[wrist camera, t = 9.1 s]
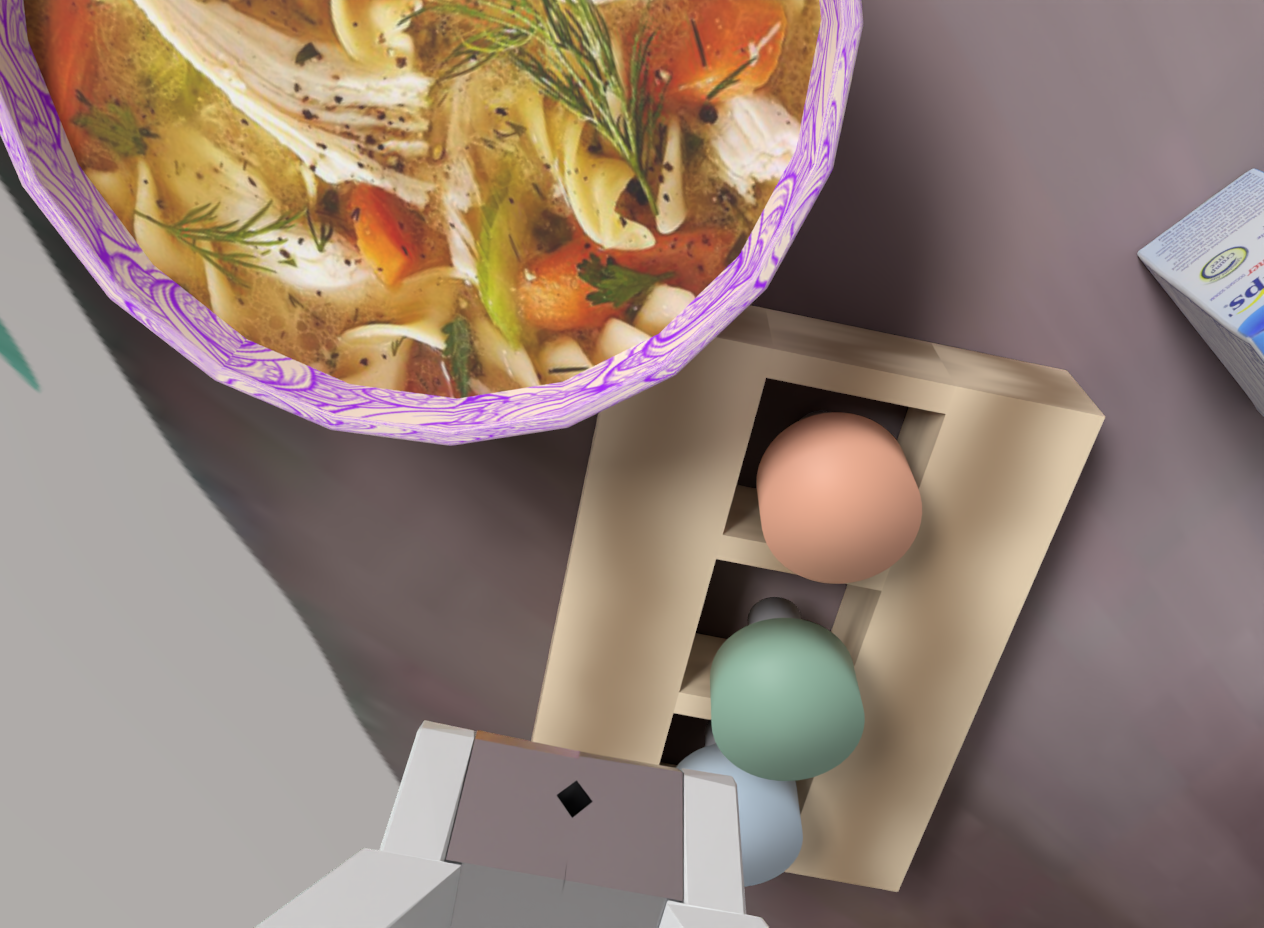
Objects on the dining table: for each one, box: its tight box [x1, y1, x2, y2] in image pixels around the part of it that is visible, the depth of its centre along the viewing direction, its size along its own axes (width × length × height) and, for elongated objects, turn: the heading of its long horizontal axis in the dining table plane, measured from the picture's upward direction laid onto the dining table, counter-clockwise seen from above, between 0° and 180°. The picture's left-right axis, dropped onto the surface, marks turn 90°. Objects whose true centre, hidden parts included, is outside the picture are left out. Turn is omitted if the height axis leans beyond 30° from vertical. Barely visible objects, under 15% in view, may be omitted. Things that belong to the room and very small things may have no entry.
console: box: [531, 305, 1105, 892], centre depth 42 cm, size 16×22×4 cm
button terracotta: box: [756, 411, 922, 584], centre depth 37 cm, size 5×5×6 cm
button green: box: [710, 597, 865, 781], centre depth 39 cm, size 5×5×6 cm
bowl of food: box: [0, 0, 863, 446], centre depth 29 cm, size 20×20×12 cm
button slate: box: [676, 720, 803, 887], centre depth 43 cm, size 5×5×6 cm
